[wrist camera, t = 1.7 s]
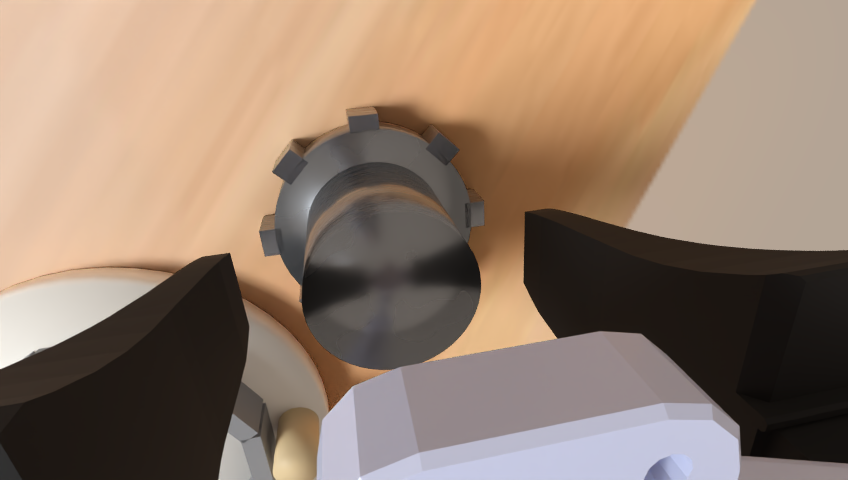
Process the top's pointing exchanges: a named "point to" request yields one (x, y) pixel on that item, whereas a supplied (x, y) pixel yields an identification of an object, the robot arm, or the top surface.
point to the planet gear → (378, 240)
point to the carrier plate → (260, 386)
